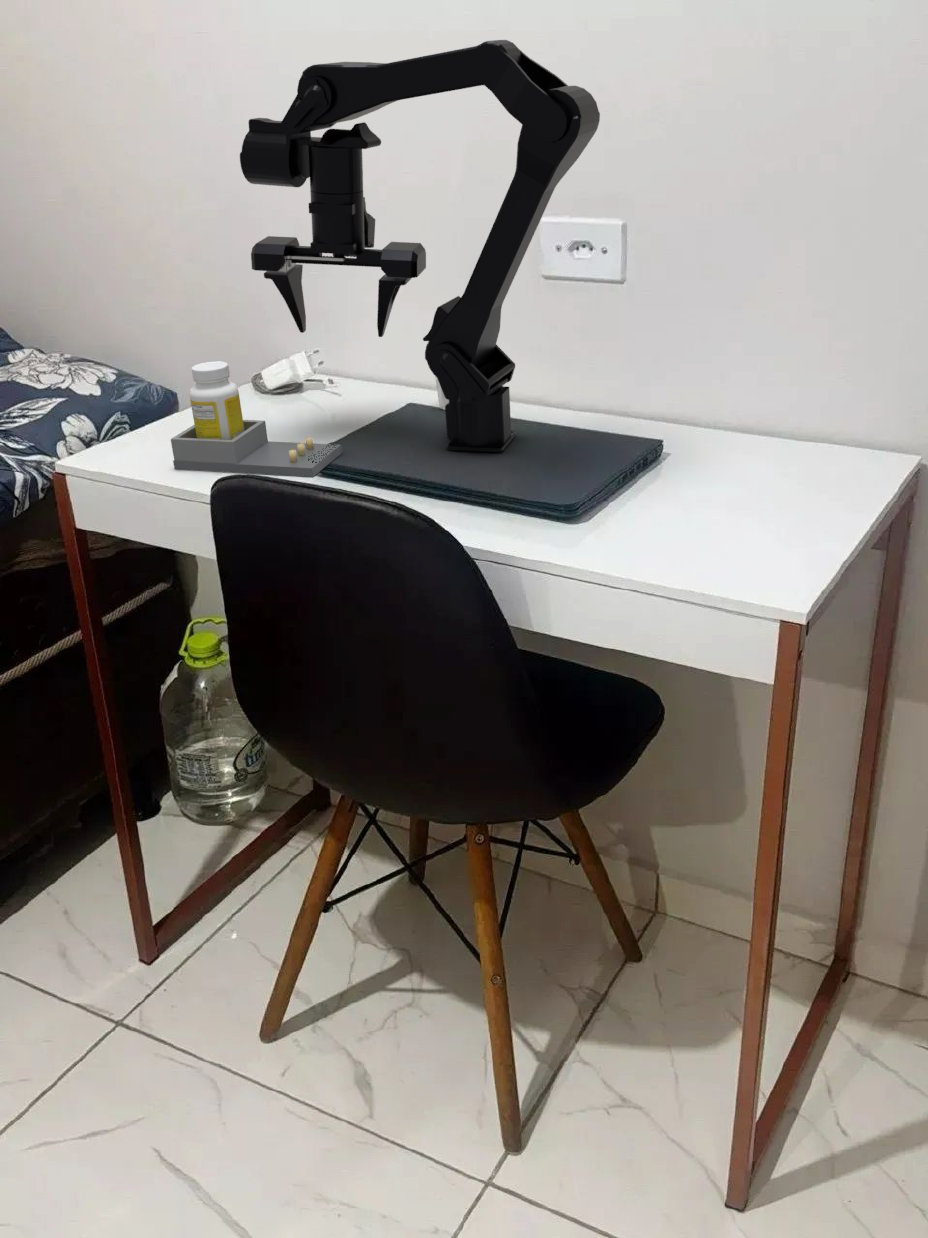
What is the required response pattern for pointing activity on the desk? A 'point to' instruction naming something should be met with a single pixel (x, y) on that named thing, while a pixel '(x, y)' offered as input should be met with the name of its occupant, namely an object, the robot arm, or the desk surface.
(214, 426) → the supplement bottle
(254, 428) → the grey organizer tray
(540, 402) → the desk surface
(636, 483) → the desk surface
